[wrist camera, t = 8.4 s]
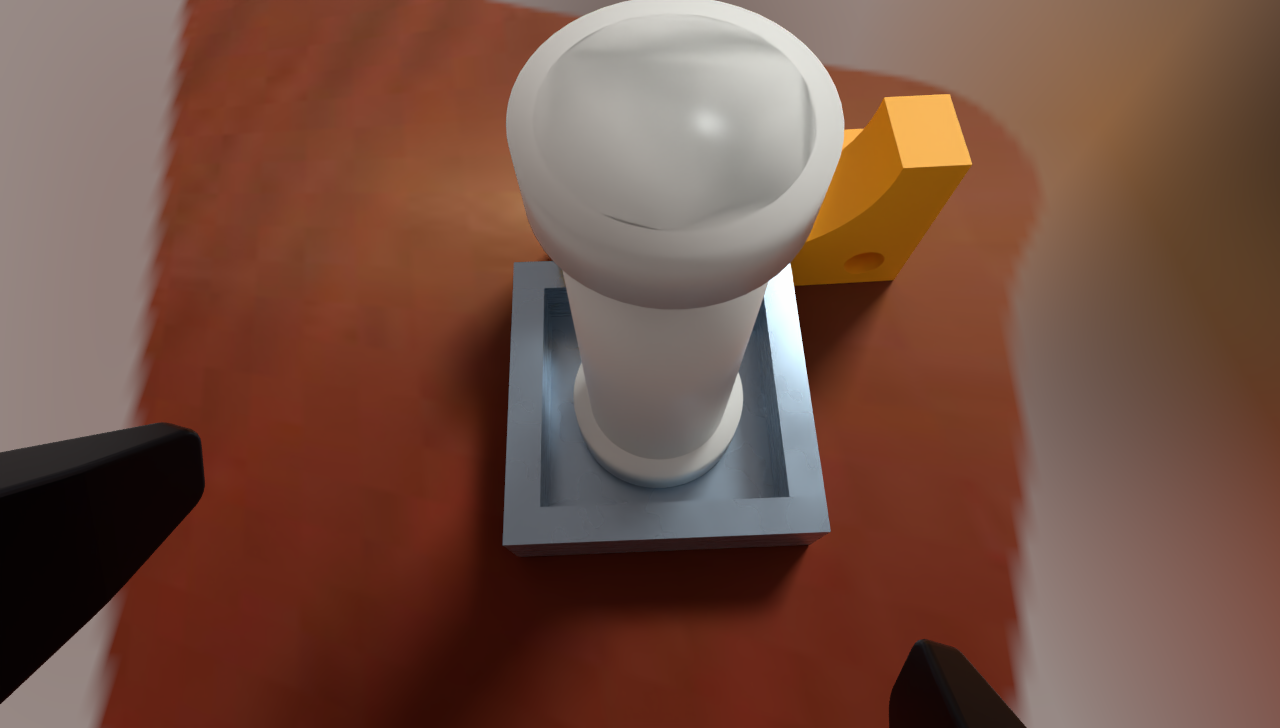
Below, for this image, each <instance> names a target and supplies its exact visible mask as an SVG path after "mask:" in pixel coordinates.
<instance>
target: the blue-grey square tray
mask: <svg viewBox="0 0 1280 728" xmlns="http://www.w3.org/2000/svg"><path fill="white" fill-rule="evenodd" d="M581 363H582V361H581V357H580V352H579V347H578V342H577V337H576V333H575V328H574V323H573V318H572V313H571V309H570V304H569V299H568V294H567V289H566V285H565V280H564V275H563V270H562V269H561V268H560V267H559V266H558V265H557V264H555V262H554V261H541V262H514V276H513V301H512V326H511V350H510V375H509V400H508V425H507V449H506V474H505V499H504V524H503V546H504V547H506V548H507V549H508V550H510V551H511V552H512V553H514V554H515V555H516V556H518V557H529V556H553V555H577V554H601V553H625V552H649V551H673V550H697V549H722V548H746V547H770V546H794V545H810V544H812V543H813V542H815V541H817V540H818V539H820V538H821V537H823V536H825V535H826V534H828V533H829V532H831V531H830V524H829V517H828V511H827V504H826V497H825V491H824V484H823V477H822V471H821V464H820V457H819V451H818V444H817V437H816V431H815V424H814V417H813V411H812V404H811V397H810V391H809V384H808V377H807V371H806V364H805V357H804V351H803V344H802V337H801V331H800V324H799V317H798V311H797V304H796V297H795V291H794V284H793V277H792V271H791V264H789V265H787V266H786V267H785V268H784V269H783V270H782V271H781V272H780V273H779V274H778V275H777V276H775V277H774V278H772V279H771V280H770V281H769V282H768V285H767V288H766V291H765V294H764V297H763V300H762V303H761V306H760V309H759V312H758V315H757V318H756V321H755V323H754V326H753V329H752V332H751V335H750V338H749V341H748V344H747V347H746V350H745V353H744V356H743V359H742V362H741V365H740V368H739V371H738V372H739V375H740V378H741V383H742V389H743V407H742V412H741V417H740V420H739V423H738V426H737V428H736V431H735V433H734V436H733V438H732V441H731V443H730V445H729V447H728V449H727V450H726V452H725V454H724V455H723V456H722V458H721V459H720V460H719V461H718V462H717V463H716V464H715V465H714V467H713V468H711V469H710V470H709V471H708V472H706V473H705V474H704V475H702V476H700V477H698V478H697V479H695V480H693V481H690V482H688V483H685V484H682V485H678V486H675V487H667V488H649V487H642V486H638V485H634V484H631V483H628V482H626V481H623V480H621V479H619V478H617V477H616V476H614V475H612V474H611V473H610V472H608V471H607V470H606V469H604V468H603V467H602V466H601V465H600V464H599V463H598V462H597V461H596V460H595V458H594V457H593V456H592V454H591V453H590V452H589V450H588V448H587V446H586V445H585V442H584V440H583V437H582V435H581V432H580V428H579V424H578V421H577V417H576V413H575V409H574V399H573V398H574V385H575V379H576V376H577V373H578V370H579V367H580V365H581Z"/></svg>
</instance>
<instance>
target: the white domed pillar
mask: <svg viewBox="0 0 1280 728" xmlns="http://www.w3.org/2000/svg"><path fill="white" fill-rule="evenodd" d="M506 130H507V141H508V145H509V149H510V153H511V157H512V161H513V165H514V169H515V172H516V176H517V180H518V184H519V188H520V191H521V195H522V199H523V203H524V207H525V210H526V214H527V218H528V221H529V223H530V226H531V228H532V230H533V233H534V235H535V237H536V238H537V240H538V241H539V243H540V245H541V246H542V248H543V249H544V251H545V252H546V253H547V254H548V255H549V257H550V258H551V259H552V260H553V261H554V262H555V264H557V265H558V266H559V267H560V268H561V269H562V270H563V275H564V280H565V285H566V289H567V294H568V299H569V304H570V309H571V313H572V318H573V323H574V328H575V333H576V337H577V342H578V347H579V352H580V357H581V361H582V363H581V365H580V367H579V370H578V373H577V376H576V379H575V385H574V398H573V399H574V409H575V413H576V417H577V421H578V424H579V428H580V432H581V435H582V437H583V440H584V442H585V445H586V446H587V448H588V450H589V452H590V453H591V454H592V456H593V457H594V458H595V460H596V461H597V462H598V463H599V464H600V465H601V466H602V467H603V468H604V469H606V470H607V471H608V472H610V473H611V474H612V475H614V476H616V477H617V478H619V479H621V480H623V481H626V482H628V483H631V484H634V485H638V486H642V487H649V488H667V487H675V486H678V485H682V484H685V483H688V482H690V481H693V480H695V479H697V478H698V477H700V476H702V475H704V474H705V473H706V472H708V471H709V470H710V469H711V468H713V467H714V465H715V464H716V463H717V462H718V461H719V460H720V459H721V458H722V456H723V455H724V454H725V452H726V450H727V449H728V447H729V445H730V443H731V441H732V438H733V436H734V433H735V431H736V428H737V426H738V423H739V420H740V417H741V412H742V407H743V389H742V383H741V378H740V375H739V372H738V371H739V368H740V365H741V362H742V359H743V356H744V353H745V350H746V347H747V344H748V341H749V338H750V335H751V332H752V329H753V326H754V323H755V321H756V318H757V315H758V312H759V309H760V306H761V303H762V300H763V297H764V294H765V291H766V288H767V285H768V282H769V281H770V280H771V279H772V278H774V277H775V276H777V275H778V274H779V273H780V272H781V271H782V270H783V269H784V268H785V267H786V266H787V265H789V264H790V263H791V262H792V260H793V259H794V258H795V256H796V255H797V254H798V253H799V251H800V250H801V249H802V247H803V245H804V244H805V242H806V240H807V238H808V237H809V235H810V233H811V230H812V228H813V225H814V223H815V220H816V218H817V215H818V213H819V210H820V208H821V205H822V203H823V200H824V198H825V195H826V193H827V190H828V187H829V185H830V182H831V180H832V177H833V175H834V172H835V170H836V167H837V164H838V162H839V159H840V156H841V152H842V146H843V141H844V117H843V111H842V105H841V101H840V98H839V95H838V92H837V89H836V87H835V85H834V83H833V81H832V79H831V77H830V75H829V73H828V72H827V70H826V69H825V68H824V66H823V65H822V63H821V62H820V61H819V59H818V58H817V57H816V56H815V55H814V54H813V53H812V52H811V50H810V49H809V48H808V47H807V46H806V45H805V44H804V43H802V42H801V41H800V40H799V39H798V38H796V37H795V36H794V35H793V34H792V33H790V32H788V31H787V30H785V29H784V28H782V27H781V26H779V25H778V24H776V23H775V22H773V21H770V20H769V19H767V18H765V17H763V16H761V15H759V14H757V13H754V12H751V11H749V10H746V9H743V8H741V7H738V6H734V5H731V4H727V3H723V2H719V1H714V0H631V1H626V2H621V3H618V4H614V5H611V6H607V7H604V8H601V9H599V10H596V11H594V12H591V13H589V14H586V15H584V16H582V17H581V18H579V19H577V20H575V21H573V22H571V23H569V24H568V25H566V26H565V27H563V28H562V29H561V30H559V31H558V32H556V33H555V34H553V35H552V36H551V37H550V38H549V39H548V40H547V41H545V42H544V43H543V44H542V45H541V46H540V47H539V48H538V49H537V50H536V51H535V53H534V54H533V55H532V56H531V57H530V58H529V60H528V61H527V63H526V64H525V66H524V67H523V69H522V70H521V72H520V73H519V75H518V78H517V80H516V82H515V84H514V86H513V89H512V92H511V95H510V99H509V103H508V107H507V117H506Z"/></svg>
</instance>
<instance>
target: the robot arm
mask: <svg viewBox="0 0 1280 728" xmlns="http://www.w3.org/2000/svg"><path fill="white" fill-rule="evenodd" d="M204 487H205V478H204V467H203V456H202V445H201V439H200V437H199V436H198V434H197V433H196V432H195V431H193V430H191V429H188V428H185V427H181V426H178V425H174V424H171V423H162V422H161V423H155V424H149V425H144V426H139V427H133V428H128V429H123V430H117V431H112V432H107V433H102V434H96V435H91V436H86V437H80V438H75V439H70V440H64V441H59V442H53V443H48V444H43V445H38V446H32V447H27V448H21V449H16V450H11V451H6V452H1V453H0V704H1V703H2V702H3V701H4V700H5V699H6V698H8V697H9V696H10V695H11V694H12V693H13V692H14V691H15V690H16V689H17V688H18V687H19V686H20V685H21V684H22V683H24V682H25V680H27V679H28V678H29V677H30V676H31V675H32V674H33V673H34V672H35V671H36V670H37V669H38V668H40V667H41V665H43V664H44V663H45V662H46V661H47V660H48V659H49V658H50V657H51V656H52V655H53V654H54V653H56V652H57V651H58V650H59V649H60V648H61V647H62V646H63V645H64V644H65V643H66V642H67V641H68V640H69V639H70V638H71V637H72V636H74V635H75V634H76V633H77V632H78V631H79V630H80V629H81V628H82V627H83V626H84V625H85V624H86V623H87V622H88V621H90V620H91V619H92V618H93V617H94V616H95V615H96V614H97V613H98V612H99V611H100V610H101V609H102V608H103V607H104V606H105V605H106V604H107V603H108V602H109V601H110V600H111V599H112V598H113V597H114V596H115V595H116V593H117V592H118V591H119V590H120V589H121V588H122V587H123V586H124V585H125V584H126V583H127V582H128V580H129V579H130V578H131V577H132V576H133V575H134V574H135V573H136V572H137V570H138V569H139V568H140V567H141V566H142V565H143V564H144V563H145V562H146V560H147V559H148V558H149V557H150V556H151V555H152V554H153V553H154V551H155V550H156V549H157V548H158V547H159V546H160V545H161V544H162V543H163V541H164V540H165V539H166V538H167V537H168V536H169V535H170V534H171V533H172V531H173V530H174V529H175V528H176V527H177V526H178V525H179V524H180V523H181V521H182V520H183V519H184V518H185V517H186V516H187V515H188V514H189V513H190V511H191V510H192V509H193V508H194V507H195V506H196V505H197V503H198V502H199V500H200V498H201V497H202V494H203V492H204ZM889 728H1027V727H1026V726H1025V725H1024V724H1023V723H1022V722H1021V721H1020V719H1019V718H1018V717H1017V716H1016V715H1015V714H1014V712H1013V711H1012V710H1011V709H1010V708H1009V707H1008V706H1007V704H1006V703H1005V702H1004V701H1003V700H1002V699H1001V698H1000V696H999V695H998V694H997V693H996V692H995V691H994V689H993V688H992V687H991V686H990V685H989V684H988V683H987V681H986V680H985V679H984V678H983V677H982V676H981V675H980V673H979V672H978V671H977V670H976V669H975V668H974V667H973V665H972V664H971V663H970V662H969V661H968V660H967V658H966V657H965V656H964V655H963V654H962V653H961V652H960V651H959V650H958V649H956V648H954V647H951V646H948V645H944V644H941V643H937V642H934V641H930V640H927V639H922V640H918V641H917V642H916V643H915V644H914V646H913V647H912V649H911V651H910V653H909V655H908V657H907V659H906V661H905V664H904V666H903V668H902V670H901V672H900V674H899V676H898V678H897V680H896V682H895V684H894V686H893V689H892V692H891V696H890V701H889Z"/></svg>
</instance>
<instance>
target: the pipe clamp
mask: <svg viewBox="0 0 1280 728" xmlns="http://www.w3.org/2000/svg"><path fill="white" fill-rule="evenodd" d="M971 166H972V162H971V159H970V156H969V153H968V150H967V147H966V144H965V141H964V137H963V134H962V131H961V128H960V125H959V122H958V119H957V116H956V113H955V110H954V106H953V103H952V100H951V97H950V94H942V95H923V96H903V97H884V99H883V101H882V103H881V105H880V107H879V109H878V110H877V112H876V113H875V115H874V116H873V118H872V119H871V121H870V122H869V123H868V124H867V126H866V127H865V128H864V129H852V130H844V141H843V146H842V152H841V156H840V159H839V162H838V164H837V167H836V170H835V172H834V175H833V177H832V180H831V182H830V185H829V187H828V190H827V193H826V195H825V198H824V200H823V203H822V205H821V208H820V210H819V213H818V215H817V218H816V220H815V223H814V225H813V228H812V230H811V233H810V235H809V237H808V238H807V240H806V242H805V244H804V245H803V247H802V249H801V250H800V251H799V253H798V254H797V255H796V256H795V258H794V259H793V260H792V262H791V263H790V264H791V271H792V277H793V284H794V286H800V285H818V284H836V283H854V282H872V281H890V280H894V279H895V277H896V276H897V274H898V273H899V272H900V270H901V269H902V267H903V266H904V264H905V263H906V261H907V260H908V258H909V257H910V255H911V254H912V252H913V251H914V249H915V248H916V247H917V245H918V244H919V242H920V241H921V239H922V238H923V236H924V235H925V233H926V232H927V230H928V229H929V227H930V226H931V224H932V223H933V221H934V220H935V219H936V217H937V216H938V214H939V213H940V211H941V210H942V208H943V207H944V205H945V204H946V202H947V201H948V199H949V198H950V196H951V195H952V194H953V192H954V191H955V189H956V188H957V186H958V185H959V183H960V182H961V180H962V179H963V177H964V176H965V174H966V173H967V171H968V170H969V168H970V167H971Z"/></svg>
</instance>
